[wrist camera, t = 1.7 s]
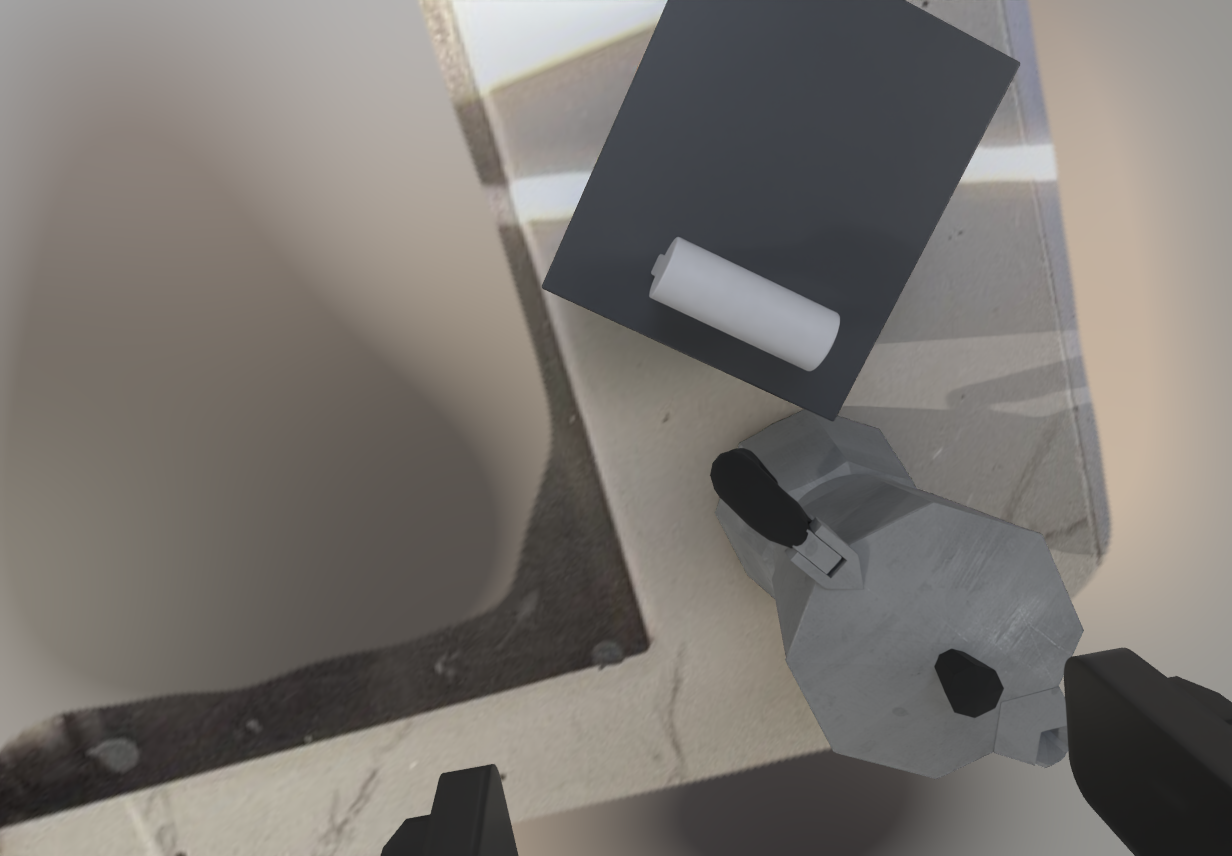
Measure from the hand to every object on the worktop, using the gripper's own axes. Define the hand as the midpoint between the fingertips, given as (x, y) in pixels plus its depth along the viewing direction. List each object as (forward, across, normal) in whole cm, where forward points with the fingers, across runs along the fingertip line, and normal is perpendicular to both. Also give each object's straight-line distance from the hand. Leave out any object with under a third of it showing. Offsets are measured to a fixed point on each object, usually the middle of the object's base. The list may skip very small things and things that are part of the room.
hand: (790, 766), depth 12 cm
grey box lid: (+18, +5, +8) cm, 21 cm away
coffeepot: (+29, +6, -6) cm, 31 cm away
